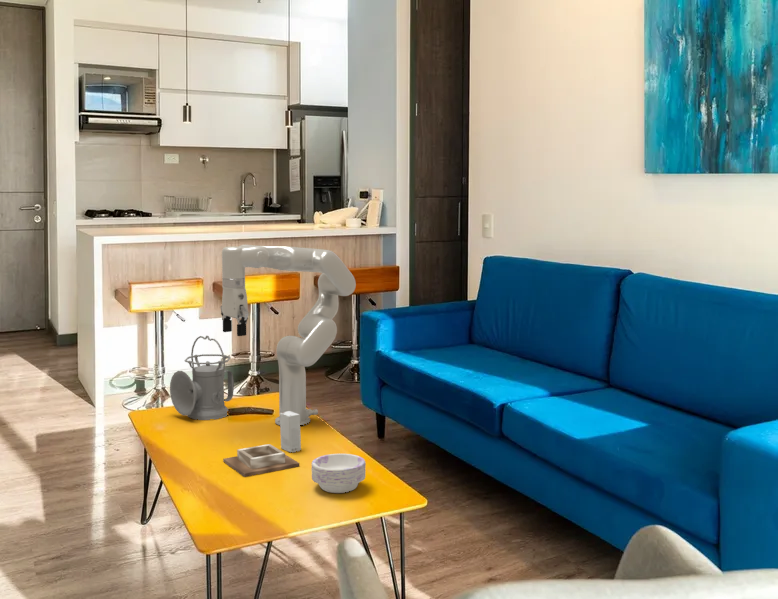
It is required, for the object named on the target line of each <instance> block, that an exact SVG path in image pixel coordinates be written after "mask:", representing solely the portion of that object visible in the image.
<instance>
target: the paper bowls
mask: <svg viewBox="0 0 778 599" xmlns="http://www.w3.org/2000/svg"><path fill="white" fill-rule="evenodd" d="M366 463H367V462H366V459H365V458H363V457H361V456H359V455H357V454H351V453H330V454H324V455H320V456H318V457H316V458H314V459H313V460H312V462H311V479H312V481H313V482H314V483H317V484H318V486H319V488H320V489H322V490H323V491H325V492H327V493H331V494H345V492H346V493H349V491H350V492H352V491H354V490H355V489H357V487H358V485H359V483H360V482H363V481H364V480H365V478H366Z"/></svg>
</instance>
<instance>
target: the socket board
mask: <svg viewBox="0 0 778 599" xmlns="http://www.w3.org/2000/svg"><path fill="white" fill-rule="evenodd" d="M236 452H237V456H232V457H225V458H223V461H222V462H223V463H224V462H225V463H224V464H225V465H227V466H228V467H230V468H231V467H232V468H231V469H233V470H234V471H235V470H236V472H237V473H238V474H239V475H241V476H242V477H244V478H247V477H253V476H257V475H256V474H258V475H261V474H266V473H267V474H268V473H272V472H277V471H282V470H287V469H293V468H298V467H300V462H298V461H297V460H295V459H294V458H292V457H290V456H288V455H287V454H286V453H285V452H284V451H282V450H281V449H279V448H277V447H276V446H274V445H272V444H270V443H269V444H262V445H261V444H260V445H256V446H251V447H244V448H239V449H238V448H237V450H236ZM252 475H253V476H252Z"/></svg>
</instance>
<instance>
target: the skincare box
mask: <svg viewBox="0 0 778 599" xmlns="http://www.w3.org/2000/svg"><path fill="white" fill-rule="evenodd" d="M279 417H280V425H279V426H280V448H281V449H282V450H284V451H286V452H289V453H291V452H292V453H297V452H300V450H301V451H302V443H301V442H302V439H301V438H302V436H301V426H300V415H299V414H297V413H294V412H291V411H287V412H282V413H280V414H279ZM296 451H297V452H296Z"/></svg>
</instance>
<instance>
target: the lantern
mask: <svg viewBox="0 0 778 599" xmlns="http://www.w3.org/2000/svg"><path fill="white" fill-rule="evenodd" d="M199 339H203V340H208V341H214V342H215V343H216V344H217V346H218V348H219V350H220V353H221V354H220V353H215V354H213V353H211V354H210V353H209V354H208V353H207V354H204V353H202V354H195V355H194V348H195V346H196V343H197V341H198V340H199ZM199 357H222V360H218V361H214V362H210V361H208V360H207V361H206V362H200V361H199V359H198V358H199ZM189 359H191V360H189ZM230 359H231V356H228V355H226V354H224V352H223V348H222V346H221V344H220V343H219V342H218V340H217V339H216V338H210V336H209V335H205V336H202V335H200V336H197V337H196V338H195V339H194V341H193V343H192V346H191V354H190V356H187V357H186V358H184V362H185V363H187V364H189V367H190V368H191V370H192V371H191V372H192V374H191V375H192V376H191V377H192V379H191V377H190V376H189V374H188V373H186V372H185V371H183V370H177V371H176V372H174V373H173V374H172V376H171V379H170V381H169V382H170V383H169V393H170V394H169V396H170V399H171V403H172V404H173V407H174V409H175V410H176V412H177V413H178V414H180V415H182V416H187V417H188V418H189V419H192V420H197V419H198V420H199V421H211V420H210V419H214V420H220V419H224V418H227V417H228V416H227V411H229V408H228V407H227V406H226V405H225V403H226V402H230V401H231V400H232V399H233V396H234V392H235V391H234V388H235V385H234V384H235V383H234V375H233V373H232V371H230V370H228V369H226V363H228V362H229V361H230ZM194 360H195V361H194ZM217 364H218V365H217ZM195 365H197V366H195ZM225 373H227V397H226V398H225V388H224V386H225V384H224V383H225V380H224V379H225ZM226 416H227V417H226ZM223 417H224V418H223ZM219 418H220V419H219Z"/></svg>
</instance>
